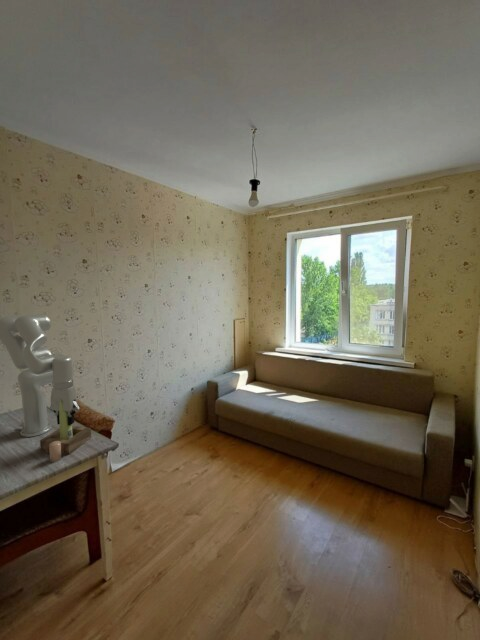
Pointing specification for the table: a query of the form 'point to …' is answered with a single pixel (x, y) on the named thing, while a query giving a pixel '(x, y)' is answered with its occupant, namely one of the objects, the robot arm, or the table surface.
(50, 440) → the square wooden frame
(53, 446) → the short stub
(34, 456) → the table surface
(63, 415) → the tube
